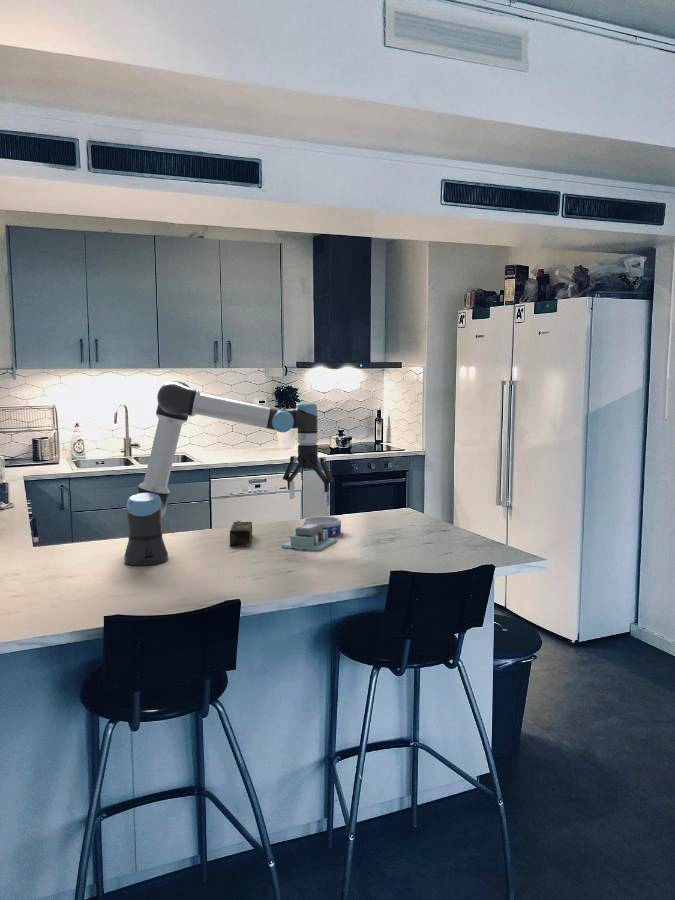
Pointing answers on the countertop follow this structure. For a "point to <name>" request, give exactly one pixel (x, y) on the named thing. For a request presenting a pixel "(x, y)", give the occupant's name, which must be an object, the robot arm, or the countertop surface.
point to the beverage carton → (240, 533)
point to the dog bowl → (326, 524)
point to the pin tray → (309, 542)
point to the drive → (310, 531)
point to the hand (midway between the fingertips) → (308, 499)
